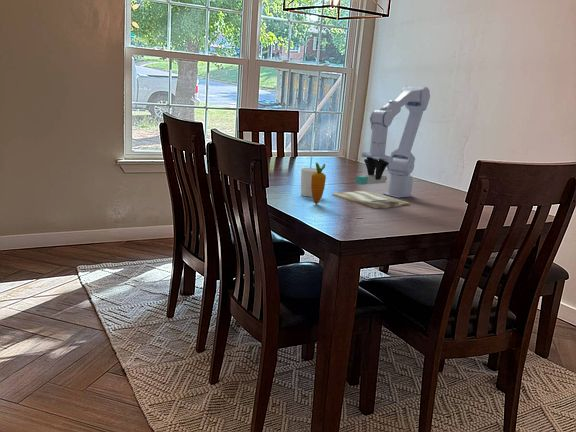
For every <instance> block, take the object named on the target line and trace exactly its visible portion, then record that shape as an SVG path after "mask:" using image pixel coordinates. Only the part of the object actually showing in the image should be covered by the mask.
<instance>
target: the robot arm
mask: <svg viewBox="0 0 576 432" xmlns="http://www.w3.org/2000/svg"><path fill="white" fill-rule="evenodd" d="M430 99H431V94H430V89H429V87H427V86H424V87H423V86H411V85H410V86H409V85H405V86H404V87H403V88H402V89H401V92H400V94H399V95H398V96H397V97H396V99H394V100H393V99H390V100H388V101H387V103H385V104H384V105H383V106H381V107H380V108H379V109H375V110H374V111H372V112H371V114H370V117H369V123H370V129H371V136H370V137H371V138H370V147H369V152H367V151H362V152H361V155H360V156H361V158H365V159H363V162H364V163H365V166H366V169H367V175H375V178H376V180H380V179H381V177H382V175H384V174H383V173H384V171H385V169H387V171H388V174H389V179H388V188H387V189H388V190H387V191H386V192H383V193H382V194H383V195H384V196H388V197H392V198H395V199H398V198H408V197H410V198H411V197H413V194H412V190H413V184H414V183H413V182H414V181H413V177H412V175H411V173H413V171H414V168H415V162H416V161H415V160H416V158H415V155H413V153H412V152H411V151H412V148H413V146H414V142H415V139H416V136H417V133H418V129H419V127H420V123H421V121H422V116H423V114H424V111H426V110H427V108H428V104H429V101H430ZM403 106H404V107H405V109H407V110H408V112H409V114H408V116H407V119H406V122H405V126H404V128H403V132H402V135H401V138H400V141H399V145H398V148H397V149H395V150H393V151H391V153H390V156H389V155H386V148H387V140H388V139H387V138H388V131H389V127H391V124H392V122H393V120H394V118H395V117H396V116H397V115H399V113H400V112H401V110H402V107H403Z"/></svg>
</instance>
